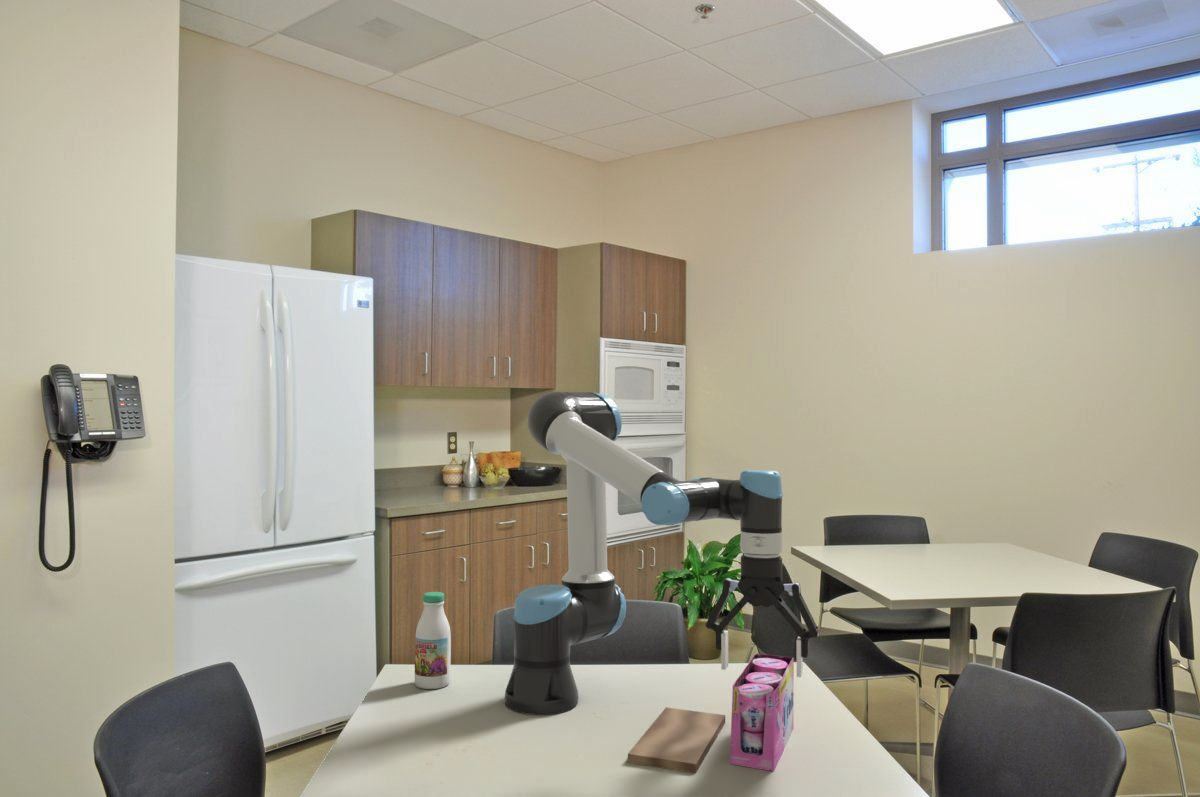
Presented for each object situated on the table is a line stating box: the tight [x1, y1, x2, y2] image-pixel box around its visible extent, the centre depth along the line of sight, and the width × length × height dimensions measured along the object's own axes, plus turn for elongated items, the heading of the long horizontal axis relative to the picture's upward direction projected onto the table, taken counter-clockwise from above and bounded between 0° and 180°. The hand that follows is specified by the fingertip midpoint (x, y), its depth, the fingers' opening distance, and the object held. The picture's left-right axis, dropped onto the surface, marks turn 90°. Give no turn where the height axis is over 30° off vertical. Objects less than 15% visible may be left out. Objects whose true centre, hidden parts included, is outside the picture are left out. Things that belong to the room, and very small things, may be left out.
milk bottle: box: [414, 591, 452, 690], centre depth 189 cm, size 8×8×20 cm
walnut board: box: [627, 706, 726, 774], centre depth 158 cm, size 12×25×2 cm, turn 160°
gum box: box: [729, 652, 795, 772], centre depth 157 cm, size 24×8×14 cm, turn 159°
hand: (761, 671), depth 157 cm, fingers open, 13 cm apart
